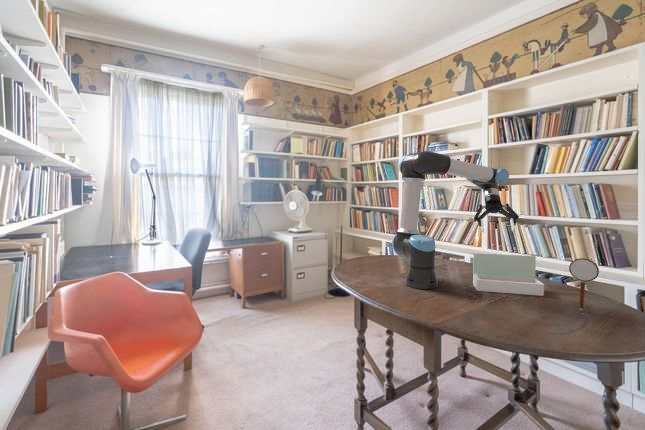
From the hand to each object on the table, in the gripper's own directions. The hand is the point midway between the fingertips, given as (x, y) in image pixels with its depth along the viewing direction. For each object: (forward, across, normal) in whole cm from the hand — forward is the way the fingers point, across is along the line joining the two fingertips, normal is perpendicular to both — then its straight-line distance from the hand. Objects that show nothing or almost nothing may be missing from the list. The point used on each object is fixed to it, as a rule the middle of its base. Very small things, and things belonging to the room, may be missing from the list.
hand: (498, 230), depth 155 cm
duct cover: (+18, 0, -3) cm, 18 cm away
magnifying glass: (+43, -21, +8) cm, 48 cm away
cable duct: (+29, 0, -6) cm, 30 cm away
